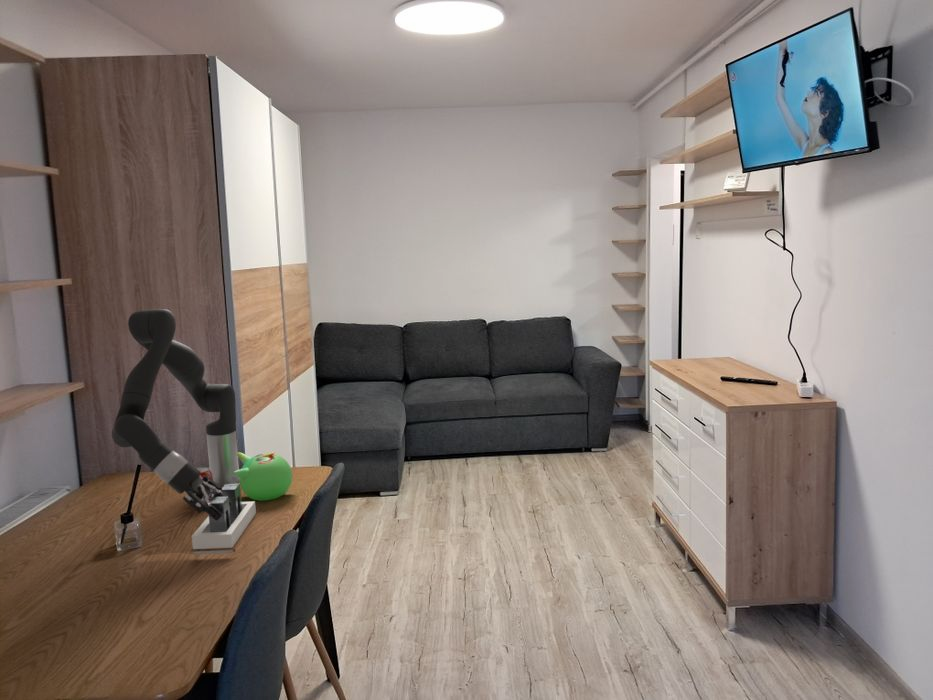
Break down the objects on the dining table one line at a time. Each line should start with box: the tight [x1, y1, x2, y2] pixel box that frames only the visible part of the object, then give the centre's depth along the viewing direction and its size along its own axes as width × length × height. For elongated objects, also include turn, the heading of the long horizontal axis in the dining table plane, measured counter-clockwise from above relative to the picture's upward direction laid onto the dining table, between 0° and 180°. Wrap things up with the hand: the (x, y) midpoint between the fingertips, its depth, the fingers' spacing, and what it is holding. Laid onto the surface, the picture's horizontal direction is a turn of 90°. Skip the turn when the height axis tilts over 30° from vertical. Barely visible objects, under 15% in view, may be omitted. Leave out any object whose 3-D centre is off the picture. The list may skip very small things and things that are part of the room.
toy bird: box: [233, 451, 293, 502], centre depth 228 cm, size 18×17×15 cm
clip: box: [208, 496, 231, 533], centre depth 196 cm, size 4×5×10 cm
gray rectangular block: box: [221, 482, 242, 524], centre depth 207 cm, size 4×5×10 cm
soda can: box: [195, 466, 213, 508], centre depth 222 cm, size 7×7×12 cm
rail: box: [191, 500, 257, 556], centre depth 201 cm, size 24×10×5 cm, turn 2°
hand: (224, 511), depth 196 cm, fingers open, 8 cm apart
